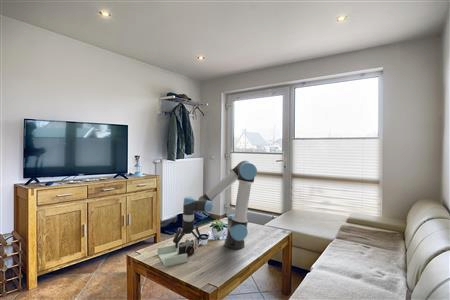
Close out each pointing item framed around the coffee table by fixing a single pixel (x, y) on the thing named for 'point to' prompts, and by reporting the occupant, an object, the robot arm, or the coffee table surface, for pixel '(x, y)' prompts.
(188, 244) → the camera
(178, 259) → the u cradle
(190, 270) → the coffee table surface
